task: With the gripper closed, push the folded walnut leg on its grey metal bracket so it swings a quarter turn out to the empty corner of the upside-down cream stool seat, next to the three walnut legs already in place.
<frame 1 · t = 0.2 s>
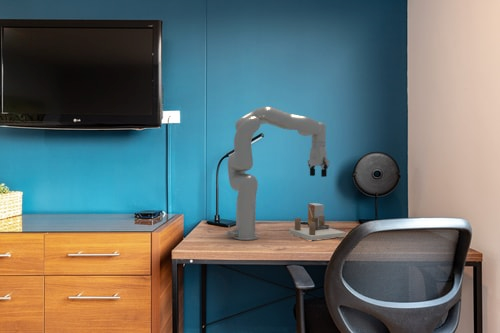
hand: (318, 176, 190), 30 cm above the table, tool pointing down, fingers open, 9 cm apart
hinged leg: (320, 223, 181), point 6 cm above the table, hinge at 0.0°
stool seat: (317, 235, 177), on the table
small box: (315, 226, 203), on the table
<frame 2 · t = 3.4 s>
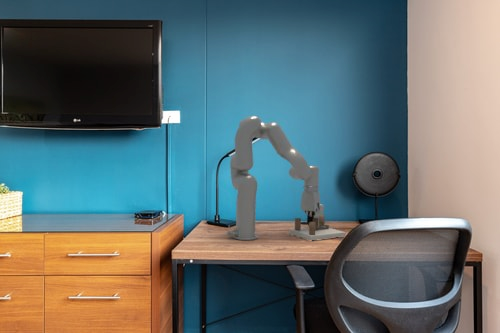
hand: (310, 223, 182), 5 cm above the table, tool pointing down, fingers closed
hinged leg: (320, 223, 180), point 6 cm above the table, hinge at 3.6°, touching gripper
everything else where it was.
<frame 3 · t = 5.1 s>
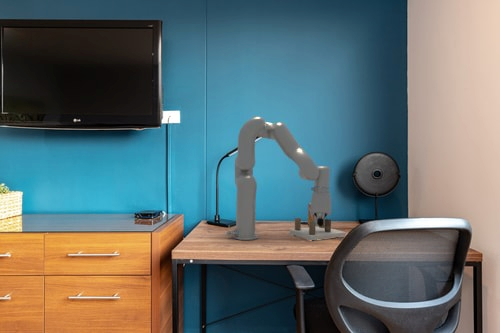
hand: (320, 226, 175), 5 cm above the table, tool pointing down, fingers closed
hinged leg: (327, 224, 179), point 6 cm above the table, hinge at 53.4°, touching gripper
everything else where it was.
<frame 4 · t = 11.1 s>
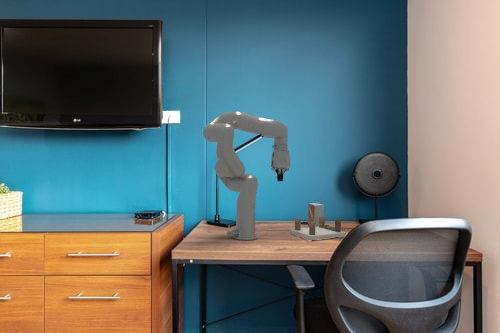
hand: (280, 181, 188), 27 cm above the table, tool pointing down, fingers closed
hinged leg: (332, 224, 179), point 6 cm above the table, hinge at 93.1°
everything else where it was.
at the end: hinged leg at +93° (first picture: +0°); small box moved 0.2 cm from its start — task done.
